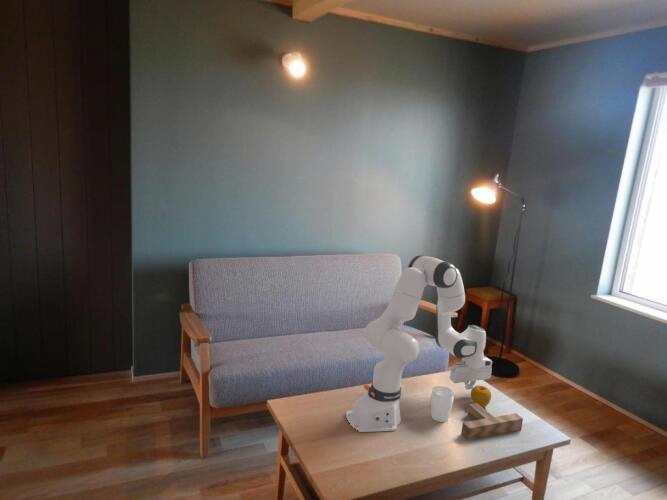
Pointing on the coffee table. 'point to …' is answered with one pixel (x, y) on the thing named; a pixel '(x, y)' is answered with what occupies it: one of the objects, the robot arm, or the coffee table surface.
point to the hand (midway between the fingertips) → (468, 388)
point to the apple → (481, 395)
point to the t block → (488, 423)
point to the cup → (441, 403)
